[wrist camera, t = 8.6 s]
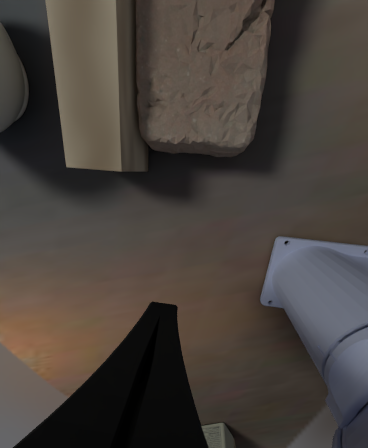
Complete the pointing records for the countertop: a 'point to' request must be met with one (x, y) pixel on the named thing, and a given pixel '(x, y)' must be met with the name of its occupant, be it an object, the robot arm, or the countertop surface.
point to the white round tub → (11, 83)
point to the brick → (201, 73)
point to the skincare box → (218, 436)
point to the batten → (97, 83)
